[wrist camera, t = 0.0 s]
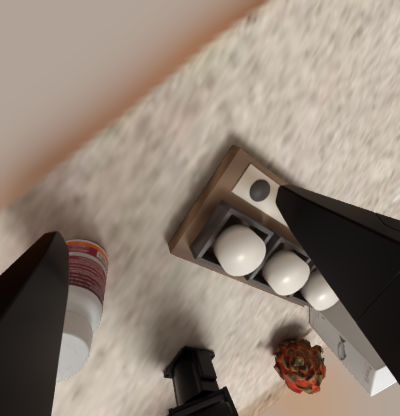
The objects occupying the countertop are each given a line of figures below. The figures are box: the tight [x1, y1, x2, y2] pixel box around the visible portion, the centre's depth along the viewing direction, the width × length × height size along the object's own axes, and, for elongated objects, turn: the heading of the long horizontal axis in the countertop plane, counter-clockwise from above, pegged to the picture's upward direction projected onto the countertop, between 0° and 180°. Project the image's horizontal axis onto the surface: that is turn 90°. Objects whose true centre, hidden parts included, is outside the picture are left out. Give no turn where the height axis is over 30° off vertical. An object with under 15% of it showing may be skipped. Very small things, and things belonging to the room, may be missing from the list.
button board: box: [168, 146, 318, 308], centre depth 30 cm, size 14×26×4 cm, turn 56°
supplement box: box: [310, 300, 397, 396], centre depth 36 cm, size 7×7×13 cm
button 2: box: [214, 224, 266, 276], centre depth 24 cm, size 5×5×2 cm
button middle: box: [262, 250, 310, 296], centre depth 27 cm, size 5×5×2 cm
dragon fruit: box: [274, 339, 326, 394], centre depth 41 cm, size 8×8×12 cm
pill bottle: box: [56, 239, 108, 382], centre depth 20 cm, size 6×6×11 cm
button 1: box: [300, 270, 339, 310], centre depth 31 cm, size 5×5×2 cm
